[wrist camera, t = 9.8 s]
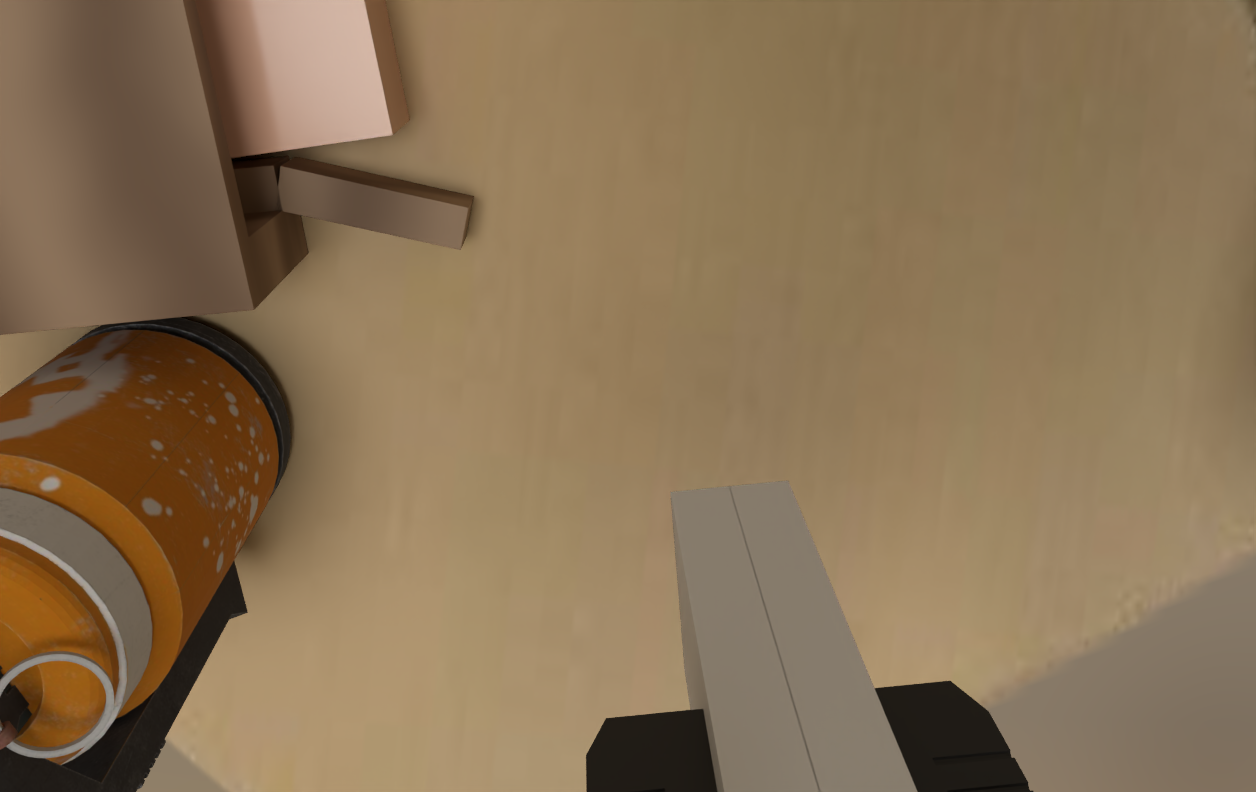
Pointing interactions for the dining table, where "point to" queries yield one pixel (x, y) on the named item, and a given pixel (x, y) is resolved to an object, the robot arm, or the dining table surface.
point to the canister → (123, 542)
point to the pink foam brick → (302, 72)
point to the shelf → (155, 176)
